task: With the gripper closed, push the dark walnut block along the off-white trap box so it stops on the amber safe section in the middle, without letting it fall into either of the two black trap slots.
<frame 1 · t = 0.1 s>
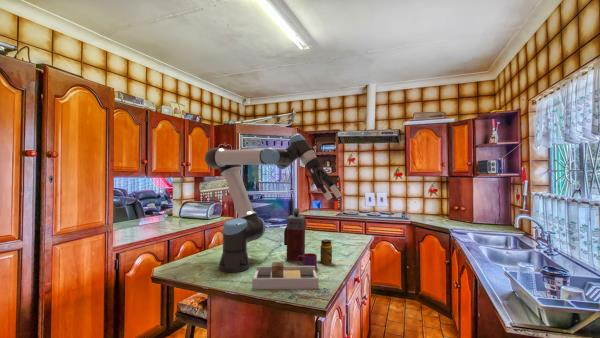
hand: (335, 197, 130), 36 cm above the counter, tool tilted 35°, fingers open, 13 cm apart
dark red tall piece: (293, 259, 153), on the counter
trap box: (285, 281, 121), on the counter
mug: (306, 268, 138), on the counter
condiment: (324, 263, 146), on the counter
block: (277, 275, 121), point 2 cm above the counter, touching trap box
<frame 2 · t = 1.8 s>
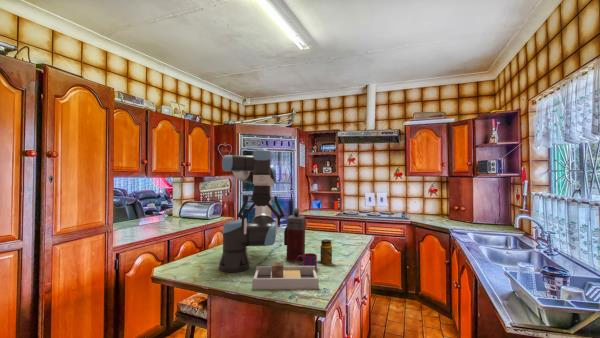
hand: (260, 233, 121), 21 cm above the counter, tool pointing down, fingers open, 13 cm apart
nothing on the counter moved.
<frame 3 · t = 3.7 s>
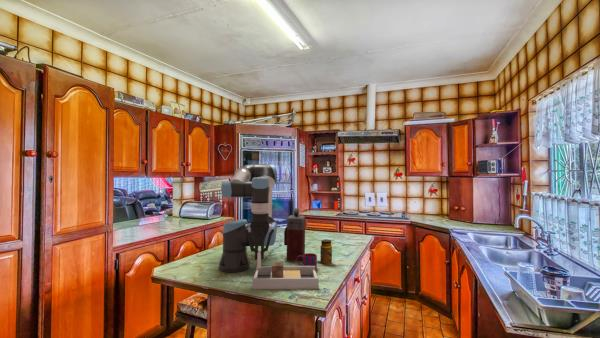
hand: (259, 267, 120), 6 cm above the counter, tool pointing down, fingers closed
nothing on the counter moved.
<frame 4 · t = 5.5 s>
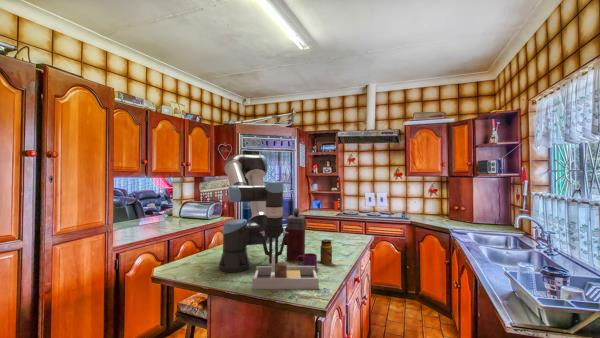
hand: (273, 271, 120), 5 cm above the counter, tool pointing down, fingers closed
block: (280, 275, 121), point 3 cm above the counter, touching gripper
everything else where it was.
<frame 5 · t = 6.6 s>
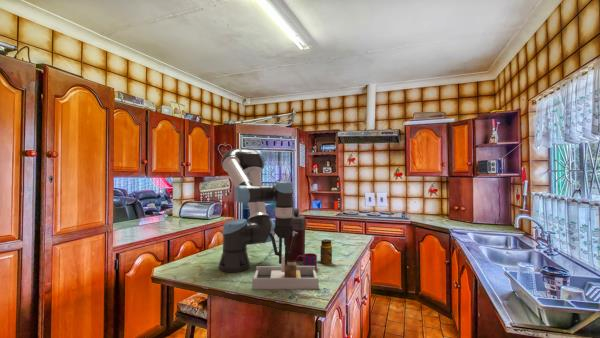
hand: (283, 271, 121), 4 cm above the counter, tool pointing down, fingers closed
block: (290, 275, 121), point 2 cm above the counter, touching gripper, trap box
everything else where it was.
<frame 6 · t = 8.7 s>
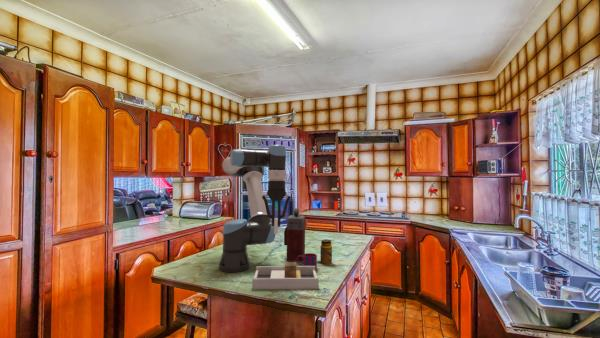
hand: (275, 233, 122), 21 cm above the counter, tool pointing down, fingers closed
block: (290, 275, 121), point 2 cm above the counter, touching trap box
everything else where it was.
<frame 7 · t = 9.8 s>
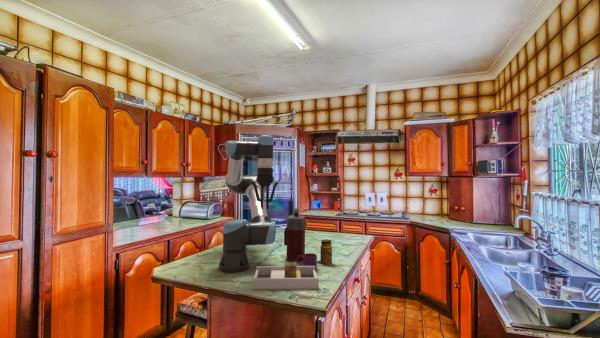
hand: (264, 215, 134), 26 cm above the counter, tool pointing down, fingers closed
nothing on the counter moved.
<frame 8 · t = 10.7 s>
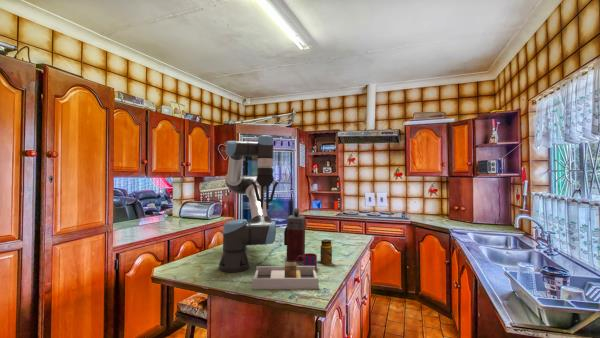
hand: (264, 215, 134), 26 cm above the counter, tool pointing down, fingers closed
nothing on the counter moved.
at the end: block inside the target area (1.3 cm from its centre), point 2.5 cm above the counter; block tilted 0° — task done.
